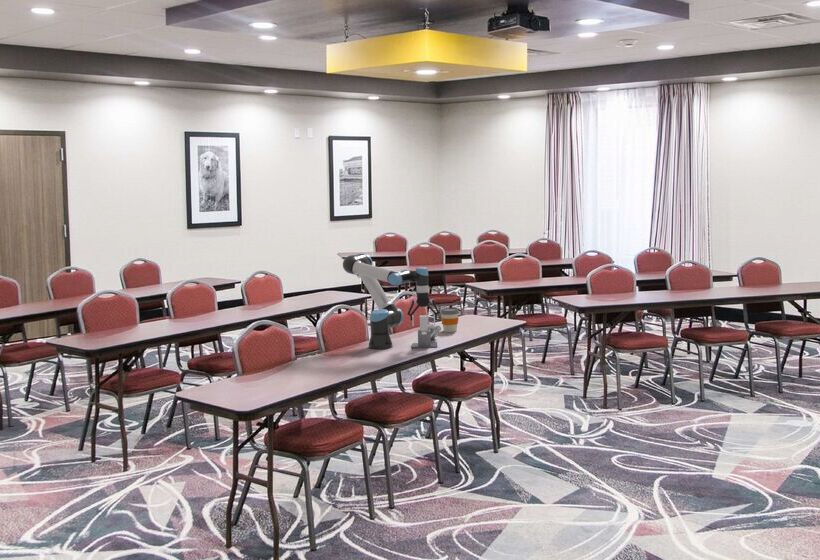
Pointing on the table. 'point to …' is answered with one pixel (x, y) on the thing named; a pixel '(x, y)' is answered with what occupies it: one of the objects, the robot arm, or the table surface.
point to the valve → (434, 330)
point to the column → (423, 323)
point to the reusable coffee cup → (449, 319)
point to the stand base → (424, 340)
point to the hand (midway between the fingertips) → (423, 325)
